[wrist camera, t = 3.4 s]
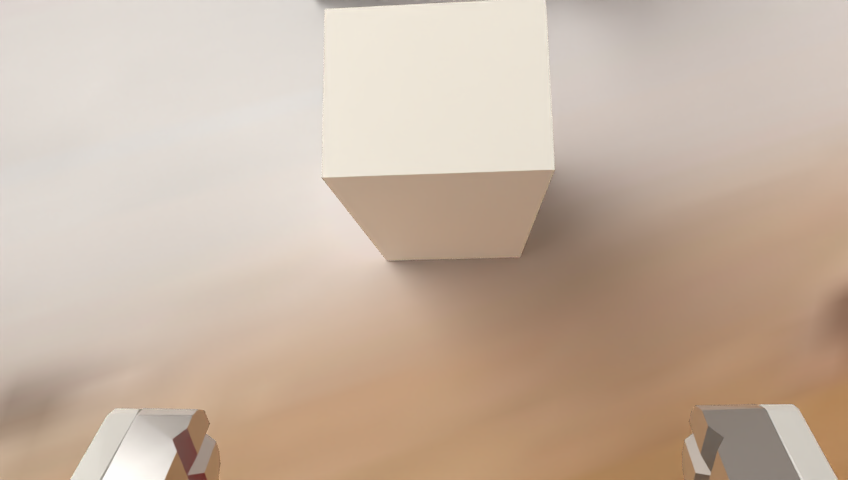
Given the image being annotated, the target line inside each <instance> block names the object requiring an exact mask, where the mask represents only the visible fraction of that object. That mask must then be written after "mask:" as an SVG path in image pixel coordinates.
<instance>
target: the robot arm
mask: <svg viewBox="0 0 848 480" xmlns="http://www.w3.org/2000/svg"><path fill="white" fill-rule="evenodd" d="M689 423H690V426H691V429H692V432H693V434H691V435H690V436H689V437H688V438H686V439H685V440H684V446H683V451H682V470H683V476H684V480H838V478H837V477H836V475H835V473H834V471H833V469H832V468H831V466H830V464H829V462H828V460H827V459H826V457H825V455H824V453H823V451H822V450H821V448H820V446H819V444H818V442H817V441H816V439H815V437H814V435H813V433H812V432H811V430H810V428H809V426H808V424H807V423H806V421H805V419H804V417H803V415H802V414H801V412H800V410H799V409H798V408H797V407H796V406H794V405H793V404H766V405H757V404H743V405H695V407H694V408H693V409H692V411H691V415H690V419H689ZM209 425H210V423H209V420H208V418H207V416H206V413H205V411H204V410H199V409H150V408H144V409H128V408H115V409H114V410H113V411H112V412H110V413H109V414H108V415H107V416H106V418H105V420H104V421H103V423H102V425H101V427H100V428H99V430H98V432H97V434H96V435H95V437H94V439H93V441H92V442H91V444H90V446H89V447H88V449H87V451H86V453H85V454H84V456H83V458H82V460H81V461H80V463H79V465H78V467H77V468H76V470H75V472H74V474H73V475H72V477H71V479H70V480H219V472H220V454H219V449H218V446H217V443H216V441H215V440H214V439H212V438H211V437H210V436H208V435H207V434H206V432H207V430H208V427H209Z"/></svg>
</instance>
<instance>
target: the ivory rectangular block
mask: <svg viewBox="0 0 848 480" xmlns="http://www.w3.org/2000/svg"><path fill="white" fill-rule="evenodd" d="M554 171H555V161H554V142H553V123H552V105H551V86H550V68H549V49H548V30H547V12H546V0H487V1H467V2H448V3H429V4H410V5H391V6H372V7H352V8H333V9H325V11H324V69H323V128H322V179H323V180H324V181H325V183H326V184H327V185H328V186H329V188H330V189H331V190H332V191H333V193H334V194H335V195H336V197H337V198H338V199H339V200H340V202H341V203H342V204H343V206H344V207H345V208H346V209H347V211H348V212H349V213H350V214H351V216H352V217H353V218H354V220H355V221H356V222H357V223H358V225H359V226H360V227H361V229H362V230H363V231H364V232H365V234H366V235H367V236H368V237H369V239H370V240H371V241H372V243H373V244H374V245H375V246H376V248H377V249H378V250H379V252H380V253H381V254H382V255H383V257H384V258H385V259H386V260H387V261H394V260H434V259H473V258H512V257H521V254H522V252H523V249H524V246H525V244H526V241H527V239H528V236H529V234H530V231H531V229H532V226H533V224H534V221H535V219H536V216H537V214H538V211H539V209H540V206H541V204H542V201H543V199H544V196H545V193H546V191H547V188H548V186H549V183H550V181H551V178H552V176H553V173H554Z"/></svg>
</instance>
